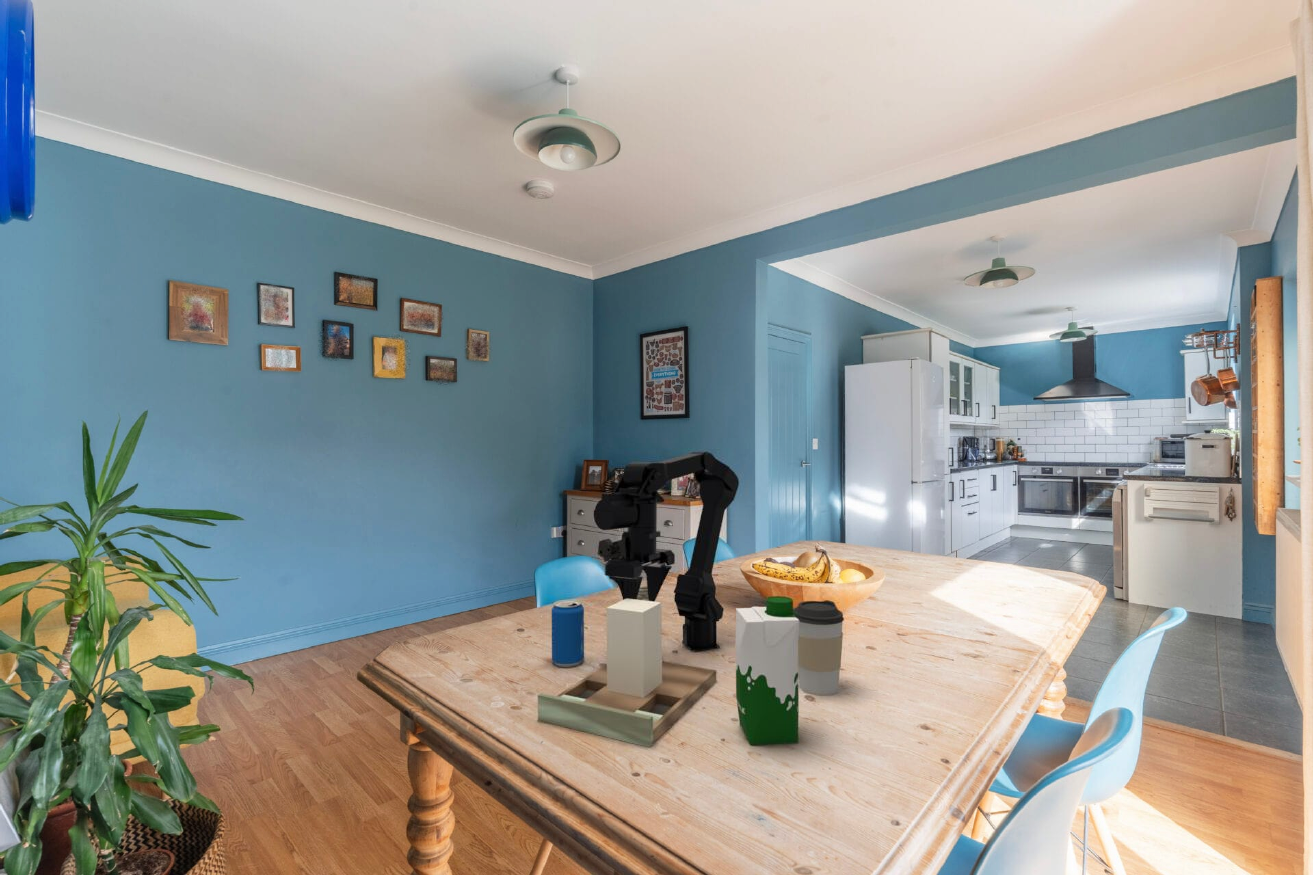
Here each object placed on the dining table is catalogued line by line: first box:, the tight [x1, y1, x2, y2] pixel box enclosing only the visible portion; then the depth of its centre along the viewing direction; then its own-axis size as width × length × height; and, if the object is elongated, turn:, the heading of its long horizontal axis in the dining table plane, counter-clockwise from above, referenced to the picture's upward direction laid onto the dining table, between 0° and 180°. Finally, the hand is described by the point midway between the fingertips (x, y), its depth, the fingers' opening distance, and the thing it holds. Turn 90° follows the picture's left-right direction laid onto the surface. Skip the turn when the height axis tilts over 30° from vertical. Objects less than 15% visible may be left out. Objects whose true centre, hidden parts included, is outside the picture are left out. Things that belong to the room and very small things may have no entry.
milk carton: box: [735, 595, 800, 746], centre depth 90 cm, size 9×9×20 cm
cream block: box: [606, 598, 663, 698], centre depth 103 cm, size 7×7×14 cm
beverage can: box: [551, 598, 585, 668], centre depth 121 cm, size 6×6×12 cm
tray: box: [537, 660, 717, 748], centre depth 103 cm, size 27×20×4 cm
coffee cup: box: [793, 599, 845, 696], centre depth 107 cm, size 9×9×15 cm
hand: (641, 606), depth 117 cm, fingers open, 9 cm apart
